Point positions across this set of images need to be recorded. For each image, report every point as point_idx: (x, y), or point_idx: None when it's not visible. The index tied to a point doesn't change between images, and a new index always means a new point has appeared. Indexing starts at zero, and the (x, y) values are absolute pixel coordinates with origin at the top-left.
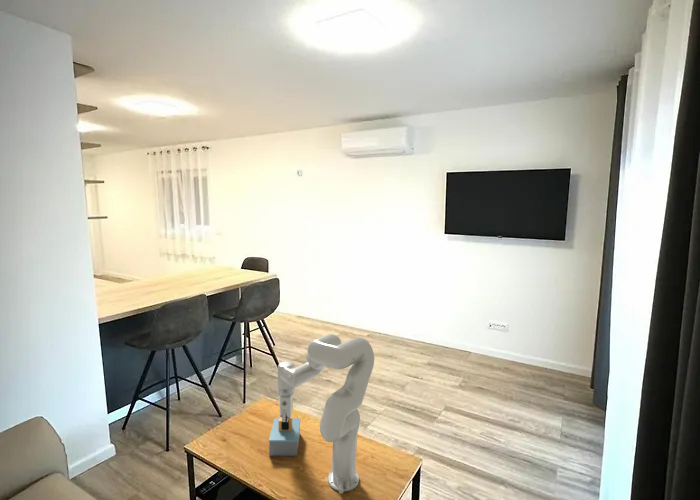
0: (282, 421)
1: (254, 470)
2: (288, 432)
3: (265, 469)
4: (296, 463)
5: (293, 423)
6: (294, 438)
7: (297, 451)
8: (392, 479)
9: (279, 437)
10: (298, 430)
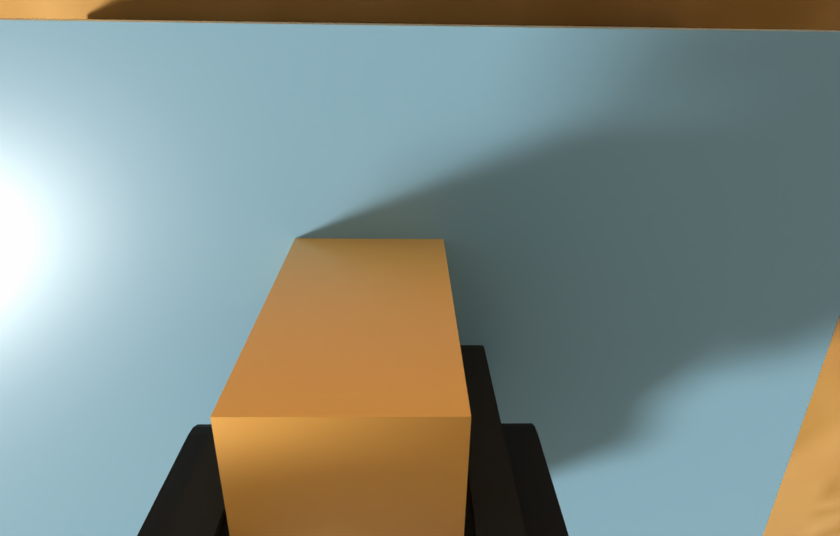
0: None
1: (806, 494)
2: (526, 311)
3: (825, 401)
4: (835, 21)
5: (110, 224)
6: (825, 135)
7: (592, 26)
8: None
9: (694, 469)
10: (456, 42)
